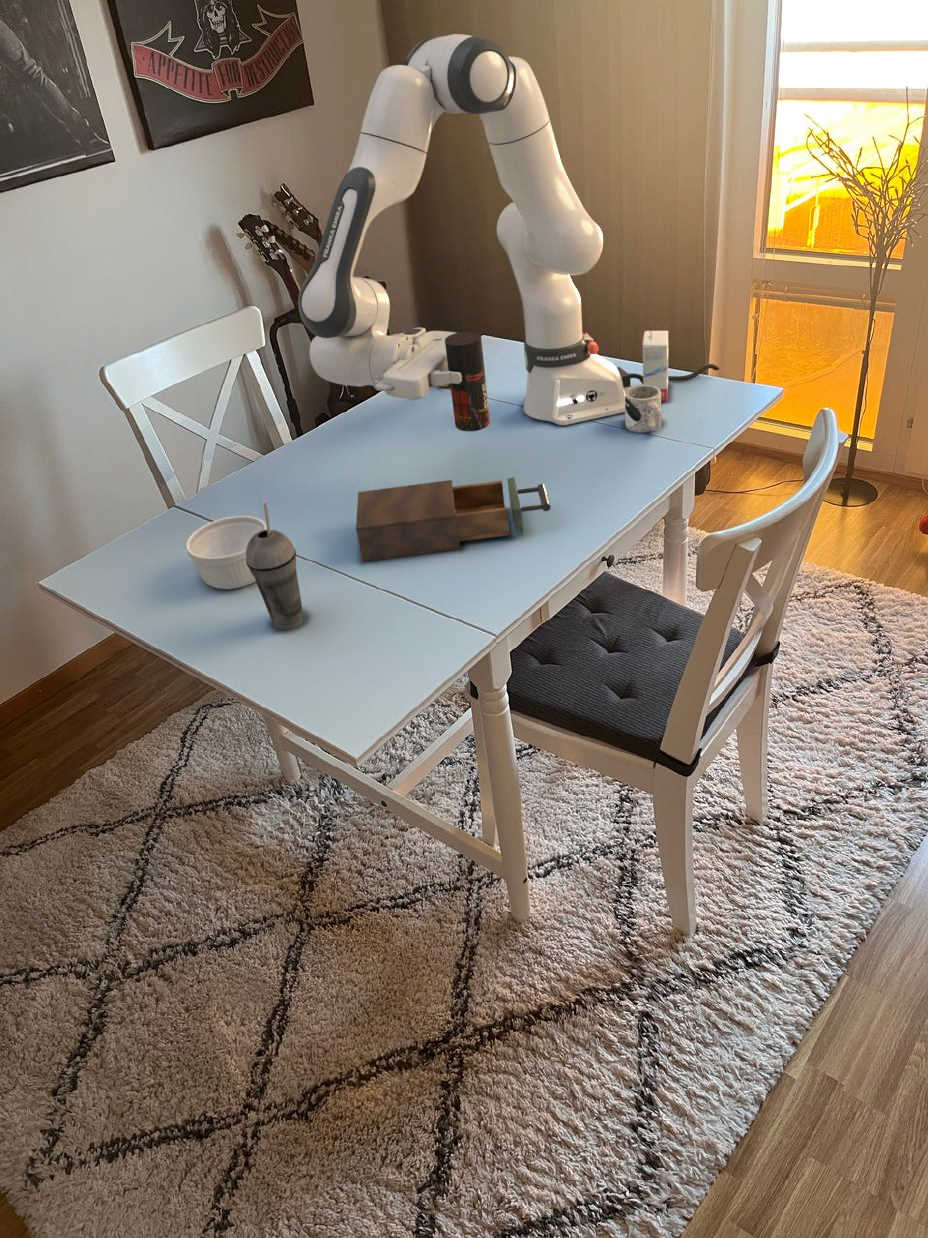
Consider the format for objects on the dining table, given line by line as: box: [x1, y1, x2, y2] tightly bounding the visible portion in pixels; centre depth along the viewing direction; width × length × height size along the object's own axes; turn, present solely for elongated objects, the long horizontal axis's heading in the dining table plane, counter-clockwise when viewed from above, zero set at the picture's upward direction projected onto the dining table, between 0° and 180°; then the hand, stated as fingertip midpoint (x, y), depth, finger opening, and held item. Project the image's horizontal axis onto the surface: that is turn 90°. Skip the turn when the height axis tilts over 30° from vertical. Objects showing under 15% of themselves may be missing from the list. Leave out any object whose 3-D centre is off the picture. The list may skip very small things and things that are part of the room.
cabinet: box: [355, 479, 461, 563], centre depth 160 cm, size 16×12×6 cm
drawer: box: [453, 477, 552, 543], centre depth 159 cm, size 20×11×5 cm, turn 93°
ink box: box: [642, 330, 669, 403], centre depth 193 cm, size 9×5×12 cm, turn 168°
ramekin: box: [185, 515, 267, 590], centre depth 157 cm, size 13×13×7 cm
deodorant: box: [445, 331, 491, 433], centre depth 160 cm, size 6×6×15 cm
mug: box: [624, 384, 662, 433], centre depth 182 cm, size 10×7×7 cm, turn 18°
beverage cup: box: [246, 502, 304, 631], centre depth 140 cm, size 7×7×20 cm
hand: (471, 367), depth 158 cm, fingers closed on deodorant, 6 cm apart
